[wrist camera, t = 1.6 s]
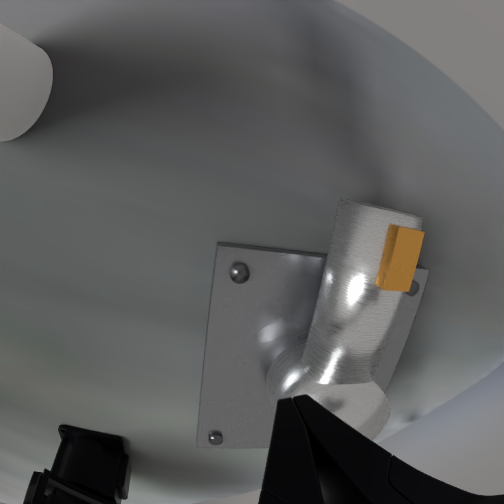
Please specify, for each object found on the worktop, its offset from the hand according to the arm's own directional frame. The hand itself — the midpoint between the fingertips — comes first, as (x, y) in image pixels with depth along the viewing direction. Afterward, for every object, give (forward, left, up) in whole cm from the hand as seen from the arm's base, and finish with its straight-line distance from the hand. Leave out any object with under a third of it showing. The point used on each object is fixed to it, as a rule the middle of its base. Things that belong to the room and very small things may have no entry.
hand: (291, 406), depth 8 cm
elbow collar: (+6, -3, -12) cm, 14 cm away
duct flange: (+6, -8, -13) cm, 16 cm away
